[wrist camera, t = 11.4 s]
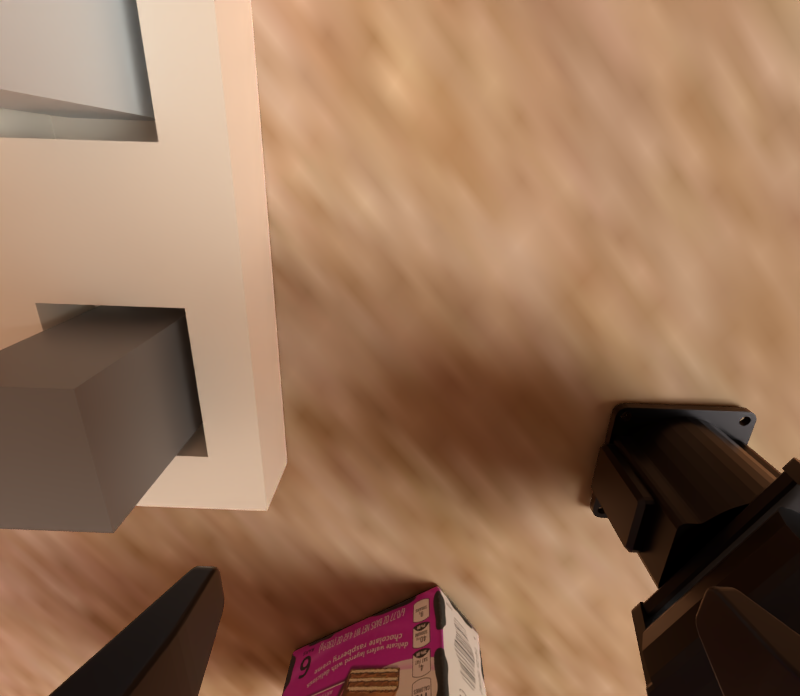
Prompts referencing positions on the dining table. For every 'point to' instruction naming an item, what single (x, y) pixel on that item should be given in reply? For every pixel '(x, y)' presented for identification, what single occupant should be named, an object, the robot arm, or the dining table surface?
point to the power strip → (163, 238)
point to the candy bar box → (394, 654)
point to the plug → (74, 59)
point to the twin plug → (93, 416)
